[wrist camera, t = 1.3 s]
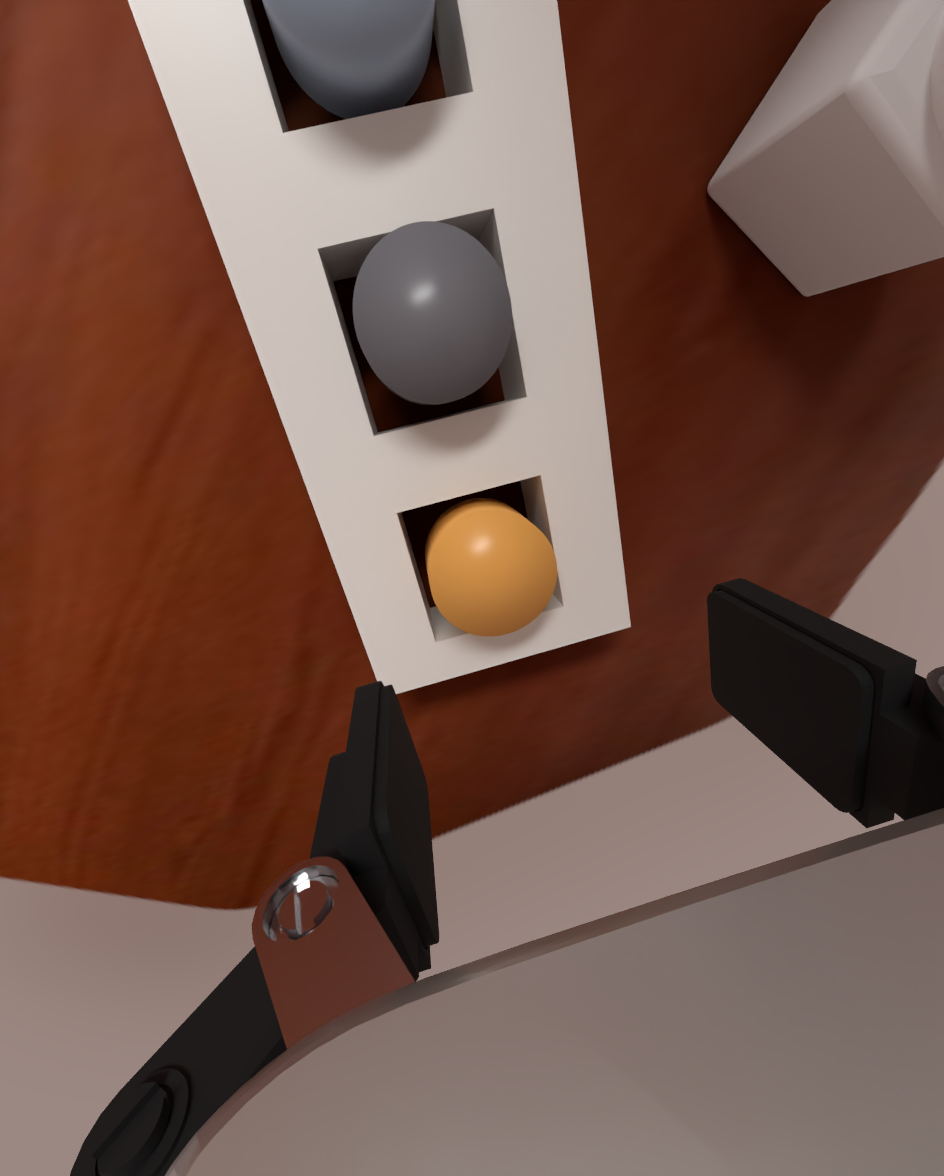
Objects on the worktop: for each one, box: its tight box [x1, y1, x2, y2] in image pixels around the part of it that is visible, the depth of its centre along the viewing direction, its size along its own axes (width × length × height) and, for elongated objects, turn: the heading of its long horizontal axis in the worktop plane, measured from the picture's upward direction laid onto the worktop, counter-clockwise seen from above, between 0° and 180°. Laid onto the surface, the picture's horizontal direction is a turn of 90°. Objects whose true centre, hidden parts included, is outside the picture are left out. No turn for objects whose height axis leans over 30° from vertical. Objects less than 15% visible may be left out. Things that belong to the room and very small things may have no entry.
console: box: [128, 0, 631, 694], centre depth 18 cm, size 28×12×4 cm, turn 13°
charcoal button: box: [353, 221, 512, 405], centre depth 16 cm, size 5×5×4 cm
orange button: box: [425, 498, 557, 637], centre depth 20 cm, size 5×5×4 cm
